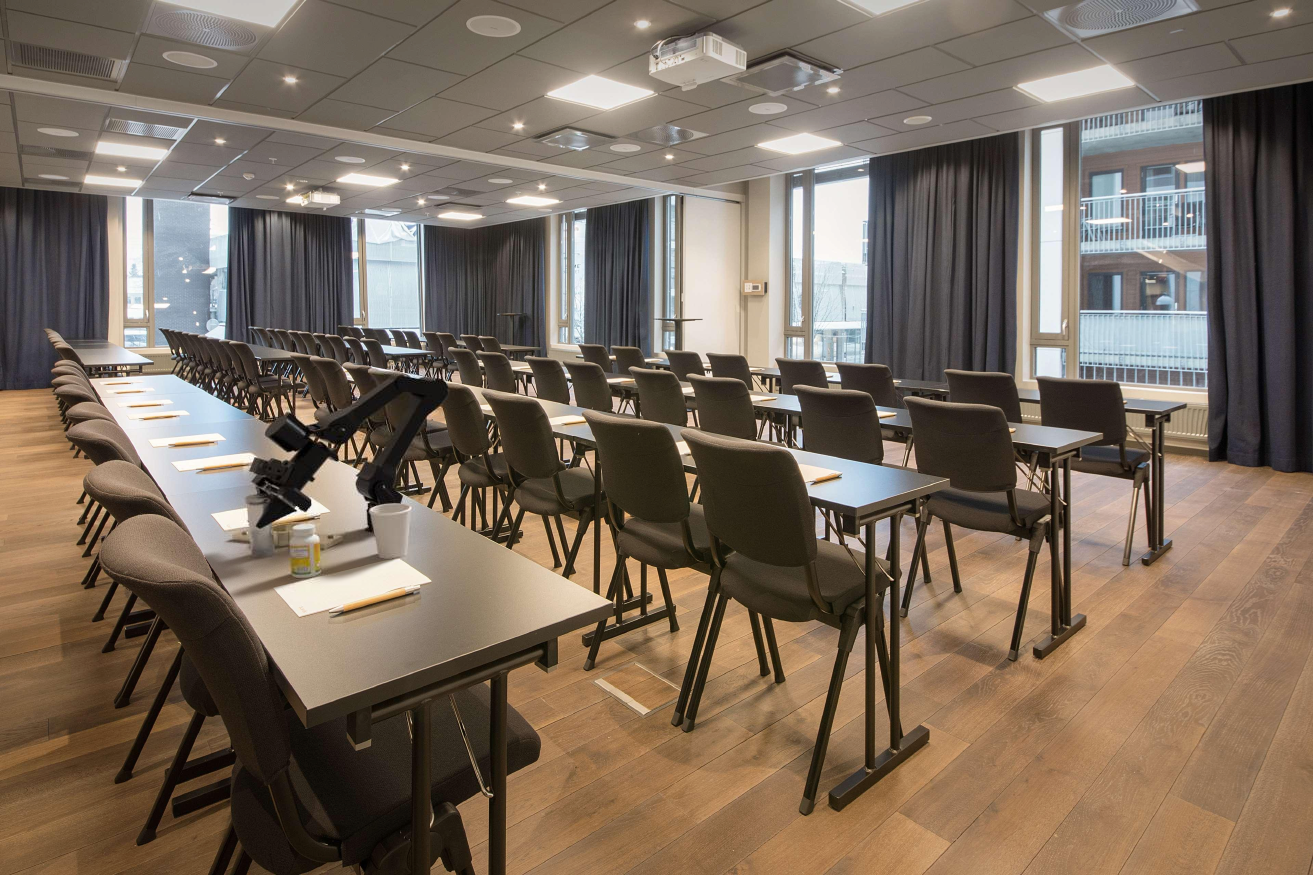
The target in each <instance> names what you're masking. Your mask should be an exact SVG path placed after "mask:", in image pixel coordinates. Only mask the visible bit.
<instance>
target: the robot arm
mask: <svg viewBox="0 0 1313 875" xmlns="http://www.w3.org/2000/svg"><path fill="white" fill-rule="evenodd" d="M404 392H405V393H408V394H410V395H409V406H408V408H407V410H406V411H405V413H404V414H403V416H402V418H400V421H399V423H398V424H397V426H396V428H394V429H395V430H394V431H393V433H391V434H392V435H391V436H390V438H389V439H388V441H387V443H386V445H385V446H384V448H383V449H382V451H381V453H380V454H379V456H378V457H377V458H376V459H375V460H373V462H370V461H367V460H366V461H364V463H363V464H362V467H361V469H360V471H359V472H358V473H357V474H355V477H357V478H356V481H355V488H356V490H357V492H358V493H359V495H361V496H362V497H363V499H364V501H365V502H368V503H367V504H366V505H367V508H366V510H365V511H366V525H367V527H365V528H364V531H365V532H366V531H367V532H374V529H373V524H372V519H371V514H370V513H369V510H370V509H371V508H372V507H375V506H378V505H383V504H395V503H398V504H402V501H403V497H404V495H403V494H402V493H401V492H400V491H398V490H397V489H395V488H394V487H395V483H396V481H397V472H398V467H399V465H400V463H401V462H402V460H403V458H404V457H405V455H406V453H407V452H408V450H409V448H410V446H411V445H412V443H413V441H414V439H415V438H416V436H417V434H418V433H419V431H420V430H421V428H422V425H423V424H424V423H425V421H426V419H427V418H428V416H430V414H432V413H433V412H435V411H436V410H437V409H438V408H439V407H440V406H441V405H442V404H443V403H444V402H445V400H446V399H447V398H448V396H449V395H450V394H449V393H450V389H449V386H448V383H447V382H446V381H445V380H444V379H442V378H438V377H429V376H423V377H419V378H418V377H417V378H416V377H413V376H412V377H411V376H408V375H405V374H400V373H393V374H390V376H388V378H386V380H384V381H383V382H381V383H380V384H378V385H377V386H376V387H374V388H373V389H371V390H370V391H369V392H367V393H366V394H365V395H363V396H362V397H360V398H359V399H358V400H355V402H353V403H352V404H350V405H348V406H347V407H344V408H342V409H339V410H337V411H333V412H331V413H329V414H327V415H325V416H322V417H321V418H320V419H318V420H317V421H316V422H315V423H311V424H307V425H305V424H304V423H303V422H302V421H301V420H300V419H298V418H297V417H296V415H295V414H293V413H292V412H289V411H287V412H285V413H284V414H283V415H282V416H280V417H278V418H277V419H276V420H274V421H272V422H271V423H270V424H269V426H268V427H266V429H265V432H264V436H265V437H267V439H269V440H270V441H272V443H274V445H276V446H278V447H279V448H281V450H283V451H285V452H286V453H291V452H295V454H293V456H292V457H291V458H290V460H288V459H284V460H280V459H278V458H277V459H276V458H274V457H271V458H270V459H269V460H267V459H263V458H260V457H256V456H255V457H253V459H252V463H251V465H250V468H249V472H250V473H253V474H254V475H255V476H254V477H253V479H251V483H252V484H254V485H255V490H256V494H270V504H269V505H268V507H267V508H266V510H265V511H264V513H263V514H262V516H261V517H260V519H259V520H258V522H257V524H256V527H257V528H259V529H261V528H263V527H265V526H267V525H269V524H271V523H272V524H273V523H275V522H276V521H279V520H280V519H282V518H284V517H286V516H289V515H291V514H293V513H297V512H298V510H300V511H301V512H303V513H307V511H308V510H309V509H310V508H311V507H312V505H313V504H312V498H310V497H309V496H308V495H306V494H305V493H304V492H302V490H303V489H304V488H305V486H306V485H307V484H308V483H309V482H311V483H313V482H314V481H315V480H316V477H314V476H315V475H316V473H317V472H318V471H319V470H320V468H321V467H322V466H323V465H324V464H325V463H326V461H327V460H328V459H329V460H330V461H333V462H335V463H336V462H339V461H340V459H339V454H338V452H339V450H338V448H335V447H332V448H330V447H329V446H328V445H327V444H325V443H324V442H326V443H329V444H332V445H337V446H341V445H344V444H346V443H348V442H349V441H350V440H351V438H352V437H354V436H355V434H356V433H357V432H359V431H358V430H359V429H360V427H361V425H362V424H363V423H364V422H365V421H366V420H368V419H369V418H370V417H371V416H373V415H374V414H376V413H377V412H378V411H380V410H381V409H382V408H383V407H385V406H387V405H388V404H389V403H391V402H392V401H394V400H395V399H396V398H397V397H399V396H400V395H401V394H402V393H404ZM311 437H313V438H316V439H319V440H320V441H315V440H313V439H312V438H311ZM295 508H298V510H297V509H295ZM247 523H248V520H247Z"/></svg>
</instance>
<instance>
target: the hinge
mask: <svg viewBox="0 0 1313 875" xmlns="http://www.w3.org/2000/svg"><path fill="white" fill-rule="evenodd" d="M299 524H306V523H304V522H296V521H294V522H282V523H278V524H272V525H273V537H274V547H287V546H289V547H290V545H289V542H290V539H291V538H292V537H294V535H293V533H292V527H294V526H296V525H299ZM314 534H315V535H317V536H318V537H319V539H320V550H326V549H329V548H330V547H333V546H335V545H338V544H339V543H342V542H344V536H343V535H338V534H326V533H325V534H324V533H318V532H315V533H314ZM232 541H238V542H239V541H242V542H250V535H249V528H247V529H245V530H242V531H239V532H236V533H233V534H232Z"/></svg>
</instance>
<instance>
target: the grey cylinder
mask: <svg viewBox="0 0 1313 875" xmlns="http://www.w3.org/2000/svg"><path fill="white" fill-rule="evenodd" d="M244 499H245V501H244V502H245V504H246V509H247V521H248V522H247V523H248V529H249V535H250V554H251V555H250V556H251V558H255V559H261V558H263V559H264V558H268V557H272V556H274V555H275V553H276V550H275V546H274V537H273V525H274V524H273V523H271V524H269V525H267V526H265V527H263V528H261V529H259V528H257V527H256V524H257V522H258V520H259V519H260V517H261V516H262V514H263V513H264V511H265V510H266V508H267V507H268V505H269V504H270V494H257V493H255V494H250V495H247V496H245V497H244Z"/></svg>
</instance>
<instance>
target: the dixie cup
mask: <svg viewBox="0 0 1313 875" xmlns="http://www.w3.org/2000/svg"><path fill="white" fill-rule="evenodd" d="M411 510H412V506H410V505H409V504H406V503H401V504H398V503H395V504H383V505H378V506H375V507H372V508H371V509H370V510H369V513H370V514H371V519H372V524H373V529H374V531H373V534H374V539H375V544H376V550H377V554H378V557H379V558H381V559H386V560H387V559H388V560H389V559H391V560H392V558H393V559H398V558H397V557H399V558H402V557H405V556H407V554H408V543H409V531H410V530H409V529H410V521H411V520H410V518H411Z"/></svg>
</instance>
